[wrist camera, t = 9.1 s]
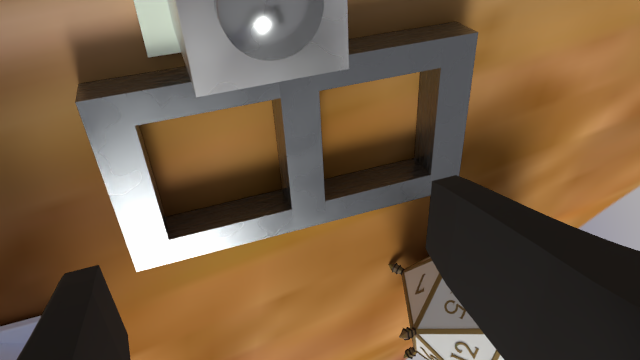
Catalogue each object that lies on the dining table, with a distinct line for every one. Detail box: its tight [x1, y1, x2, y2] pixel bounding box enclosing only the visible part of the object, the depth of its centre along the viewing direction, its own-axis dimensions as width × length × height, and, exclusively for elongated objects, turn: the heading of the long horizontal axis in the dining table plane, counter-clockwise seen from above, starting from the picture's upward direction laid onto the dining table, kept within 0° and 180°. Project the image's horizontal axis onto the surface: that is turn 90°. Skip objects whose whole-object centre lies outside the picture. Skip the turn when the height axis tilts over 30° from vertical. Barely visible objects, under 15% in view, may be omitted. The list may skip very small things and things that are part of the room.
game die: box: [388, 256, 504, 360], centre depth 26 cm, size 9×8×10 cm
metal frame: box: [76, 22, 478, 272], centre depth 20 cm, size 15×8×2 cm, turn 93°
